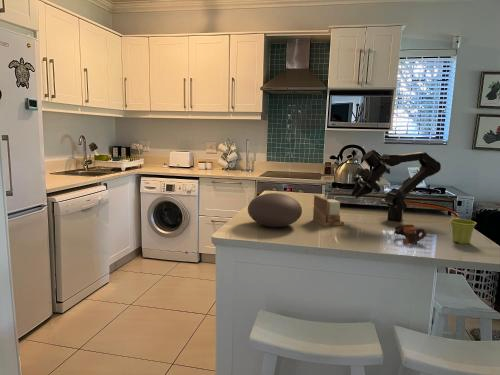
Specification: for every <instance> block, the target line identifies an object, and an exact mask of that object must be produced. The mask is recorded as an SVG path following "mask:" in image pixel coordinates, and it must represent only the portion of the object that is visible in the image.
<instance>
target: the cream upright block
mask: <svg viewBox="0 0 500 375" xmlns="http://www.w3.org/2000/svg"><path fill="white" fill-rule="evenodd" d="M326 199H327V198H326ZM340 208H341V201H339V200H336V199H334V198H333V199H331V198H330V199H327V212H326V219H327V215H340V214H341V213H340V211H341V210H340Z"/></svg>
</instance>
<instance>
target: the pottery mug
mask: <svg viewBox="0 0 500 375" xmlns="http://www.w3.org/2000/svg"><path fill="white" fill-rule="evenodd" d="M420 233H422V234H421V235H420ZM393 234H394V235H400V236H404V238H402V243H403V245H409V244H411V245H417V244H418V242H419V243H420V241H421V240H423V239H425V237H426V236H427V231H426V230H425V228H415V225H414V224H409V223H407V224H401V225H397V226H395V228H394V233H393Z"/></svg>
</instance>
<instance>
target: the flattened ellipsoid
mask: <svg viewBox="0 0 500 375" xmlns="http://www.w3.org/2000/svg"><path fill="white" fill-rule="evenodd" d="M302 208H303V207H302V206H301V204H300V203H299V201H298V200H296V198H293V197H292V196H290V195H288V194H285V193H284V194H283V193H277V192H274V193H272V192H270V193H264V194H260V195H258V196H256V197H254V198H253V199H252V200H251V201H250V202H249V203H248V205H247V213H248V216H249V218H251V219H252V220H253V221H254V222H256V223H258V224H260V225H262V226H266V227H270V228H280V227H286V226H290V225H292V224H294V223H296V222H297V221H298V220H299V219H300V217H301V216H302V213H303V210H302Z"/></svg>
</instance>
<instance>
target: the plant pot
mask: <svg viewBox="0 0 500 375" xmlns="http://www.w3.org/2000/svg"><path fill="white" fill-rule="evenodd" d="M450 222H451V228H452V230H451V231H452V232H451V233H452V234H451V235H452V242H454V243H458V244H465V245H467V244H470V242H471V240H472V235H473V231H474V229H475V227H476V225H477V222H476V221H473V220H469V219H462V218H451V219H450Z"/></svg>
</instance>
